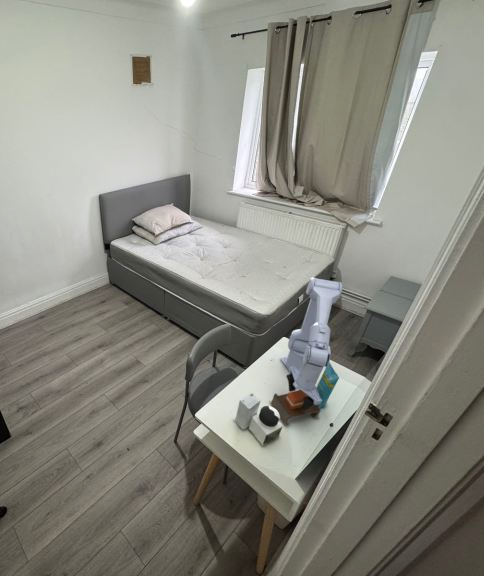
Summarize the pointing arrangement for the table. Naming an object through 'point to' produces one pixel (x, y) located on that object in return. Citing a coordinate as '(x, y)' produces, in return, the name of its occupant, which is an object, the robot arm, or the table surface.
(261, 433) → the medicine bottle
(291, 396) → the snack box
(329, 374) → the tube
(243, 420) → the cosmetic box
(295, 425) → the table surface
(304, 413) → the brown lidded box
